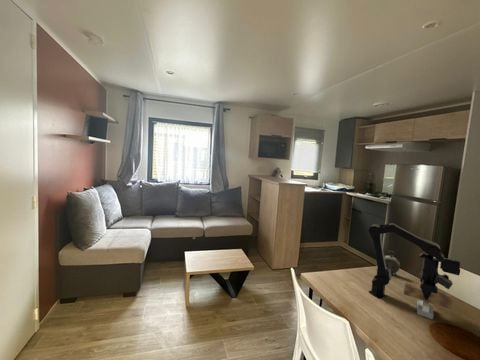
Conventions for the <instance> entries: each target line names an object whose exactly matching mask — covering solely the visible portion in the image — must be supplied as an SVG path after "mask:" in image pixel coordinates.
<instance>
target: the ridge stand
mask: <svg viewBox="0 0 480 360" xmlns="http://www.w3.org/2000/svg"><path fill="white" fill-rule="evenodd" d="M433 305H434V304H432V303H430V302H426V301H423V300H420V299H417V302H416V314H417V315H419V316H421V317H425V318H427V319H430V320H434V314H435V313H434V306H433Z"/></svg>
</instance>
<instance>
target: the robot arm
mask: <svg viewBox="0 0 480 360" xmlns="http://www.w3.org/2000/svg"><path fill="white" fill-rule="evenodd" d="M368 233H369V236H370V238H371V241H372V244H373V248H374V253H375V254H374V255H375V260H376V267H377V268H376V274H375V275H374V277H373V278H372V281H371V290H368V292H369V294H371V295H373V296H374V297H376V298H377V299H382V298H386V297H387V294H385V291H386V286H387V285H389V283H390V281H391V279H392V273H390V269H387V267H386V264H385V258H384V256H385V253H384V248H383V243H382V240H383V239H382V238H383V234H387V233H394V234H395V235H398V236H399V237H401V238H403V239H405V240H406V241H408V242H410V243H412V244H413V245H416V246H417V247H418V248H419V249H421V251H422V253H419V257H420V258H423V262H422V270H421V271H420V276H419V277H420V278H419V279H420V284H419V287H420V288H421V289H422V292H423V295H424V298H425V299H426V300H428V298H429V296H430V295H431V293H435V294H437V292H439V289H438V286H437V285H438V284H439V285H441V286H443V287H444V288H445V289H447V290H450V288H452V286H453V285H454V283H453V281H452V280H451V279H450V278H449V275H447V274H446V273H448V274H451V275H454V276H460V274H461V261H460V260H458V259H451V258H449V257H448V258H447V257H445V255H444V254H443V253H442V252H441V251H442V250H441V246H440V245H439V244H438V243H436V241H435V242H434V241H431V240H429V239H425V238H422V237H420V236H417V235H416V234H414V233H412V232H410V231H408V230H406V229H405V228H402V227H401V226H399V225H397V224H396V223H393V222H391V223H388V224H377V223H374V224H372V225H371V226H370V227H369V228H368ZM439 269H441V271H442V272H444V273H445V274H440V273H439Z"/></svg>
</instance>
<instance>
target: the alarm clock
mask: <svg viewBox="0 0 480 360" xmlns="http://www.w3.org/2000/svg"><path fill="white" fill-rule="evenodd" d="M390 252H392V253H394V251H393V250H389V251H388V255H384V258H385V264H386V267H387V269H390V273H391V274H395V276H398V275H397V273H398V272H399V271H400V268H401V263H400V261H399V259H397V258H396V257H394V254H393V255H392V254H390Z"/></svg>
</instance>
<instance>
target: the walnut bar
mask: <svg viewBox="0 0 480 360" xmlns="http://www.w3.org/2000/svg"><path fill="white" fill-rule="evenodd" d="M403 295H404V296H407V297H410V298H414V299H417V300H419V301H422V300H423V301H426V302H429V304H432V305H437V306H439V307H443V308H446V309H450V310H451V309H452V305H453V298H452V295H450V294H446V293H443V292H439V291H438V292H437V294H435V293H431V295H430V296H429V298H428V300H426V299H425V298H424V295H423V292H422V289H421V288H420V286H418V285H415V284H412V283H411V284H410V283H408V282H404V288H403Z"/></svg>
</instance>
